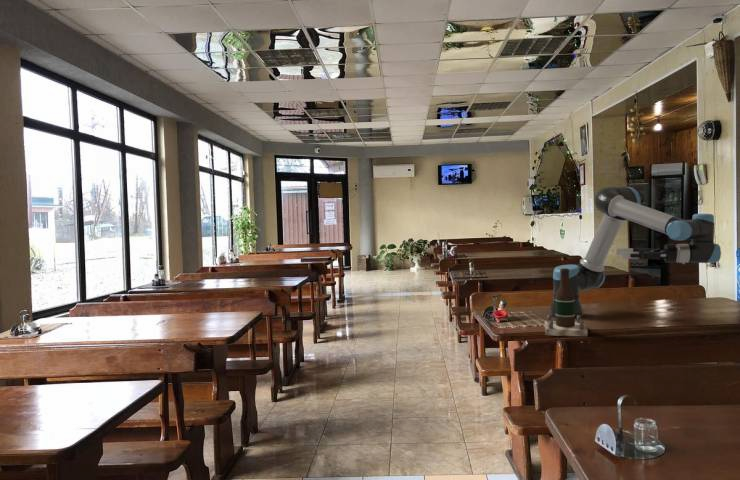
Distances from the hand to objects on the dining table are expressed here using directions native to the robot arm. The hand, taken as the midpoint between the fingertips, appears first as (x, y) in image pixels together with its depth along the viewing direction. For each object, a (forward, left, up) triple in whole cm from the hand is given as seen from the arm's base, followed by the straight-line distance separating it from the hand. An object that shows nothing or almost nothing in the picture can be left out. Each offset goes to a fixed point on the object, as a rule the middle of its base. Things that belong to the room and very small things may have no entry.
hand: (618, 253), depth 238 cm
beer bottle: (-14, -16, -30) cm, 37 cm away
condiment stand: (-14, -16, -33) cm, 39 cm away
